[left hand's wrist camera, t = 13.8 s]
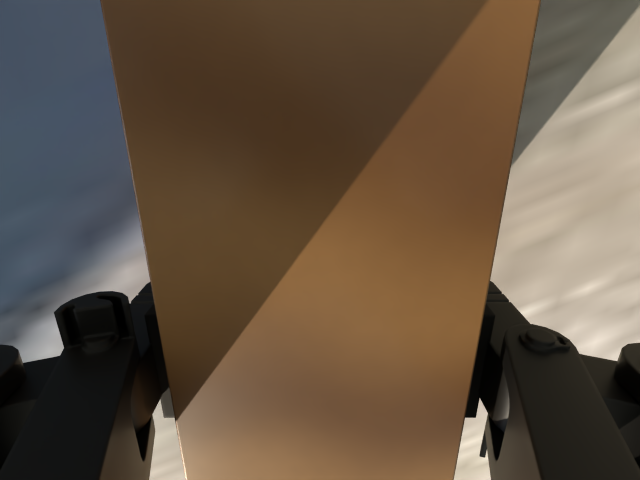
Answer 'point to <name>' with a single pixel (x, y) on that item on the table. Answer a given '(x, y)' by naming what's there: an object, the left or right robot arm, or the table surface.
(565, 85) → the table surface
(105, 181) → the table surface
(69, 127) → the table surface
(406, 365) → the post
